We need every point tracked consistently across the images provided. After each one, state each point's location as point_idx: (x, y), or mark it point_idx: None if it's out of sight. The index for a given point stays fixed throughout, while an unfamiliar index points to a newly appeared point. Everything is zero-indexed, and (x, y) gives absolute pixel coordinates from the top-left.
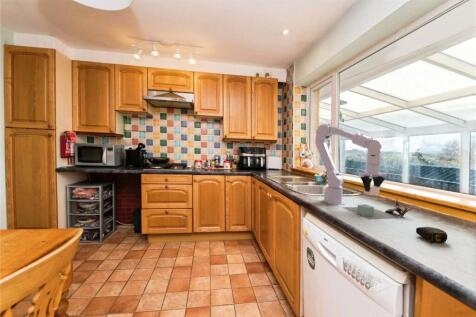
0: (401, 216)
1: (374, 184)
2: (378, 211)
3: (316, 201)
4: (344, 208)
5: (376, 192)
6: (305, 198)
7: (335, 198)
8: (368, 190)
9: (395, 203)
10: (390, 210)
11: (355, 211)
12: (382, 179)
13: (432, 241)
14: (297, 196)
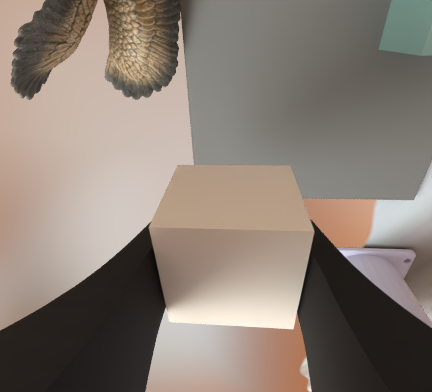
0: None
1: (155, 323)
2: (223, 85)
3: None
4: (424, 175)
5: (214, 182)
6: None
7: (404, 288)
8: (313, 223)
9: (76, 22)
10: (168, 3)
11: (425, 95)
12: (6, 372)
13: None
14: None
